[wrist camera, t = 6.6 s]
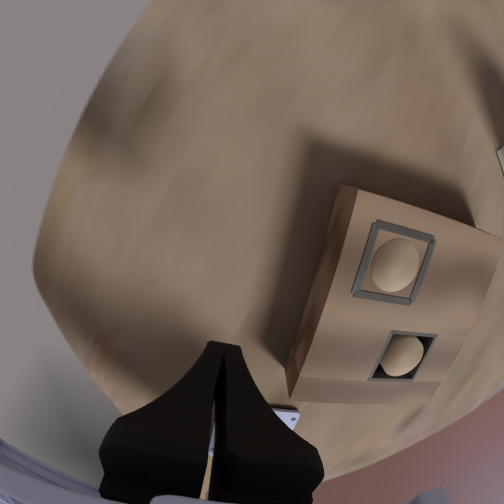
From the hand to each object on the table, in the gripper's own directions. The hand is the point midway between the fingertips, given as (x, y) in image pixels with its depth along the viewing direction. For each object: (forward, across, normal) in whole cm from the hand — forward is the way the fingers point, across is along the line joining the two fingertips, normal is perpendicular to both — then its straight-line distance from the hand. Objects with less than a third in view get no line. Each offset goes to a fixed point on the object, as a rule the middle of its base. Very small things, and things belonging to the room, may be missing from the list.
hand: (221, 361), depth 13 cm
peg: (+10, -14, +3) cm, 18 cm away
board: (+10, -13, 0) cm, 17 cm away
